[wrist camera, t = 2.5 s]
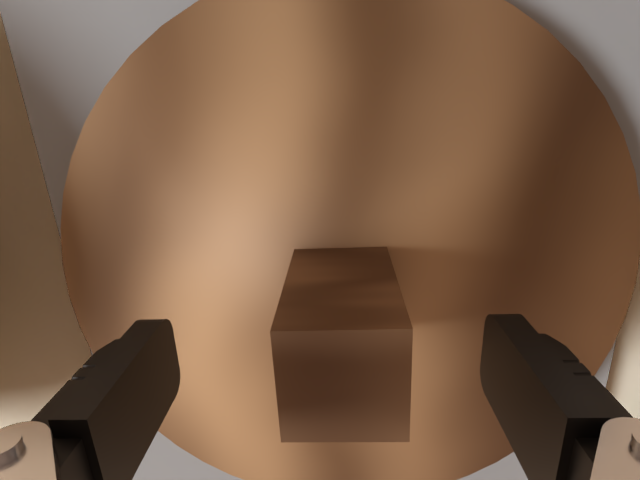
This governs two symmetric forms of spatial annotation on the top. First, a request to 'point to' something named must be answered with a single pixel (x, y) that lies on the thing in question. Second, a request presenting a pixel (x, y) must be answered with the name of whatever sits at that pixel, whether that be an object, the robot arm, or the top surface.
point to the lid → (348, 225)
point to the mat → (165, 3)
